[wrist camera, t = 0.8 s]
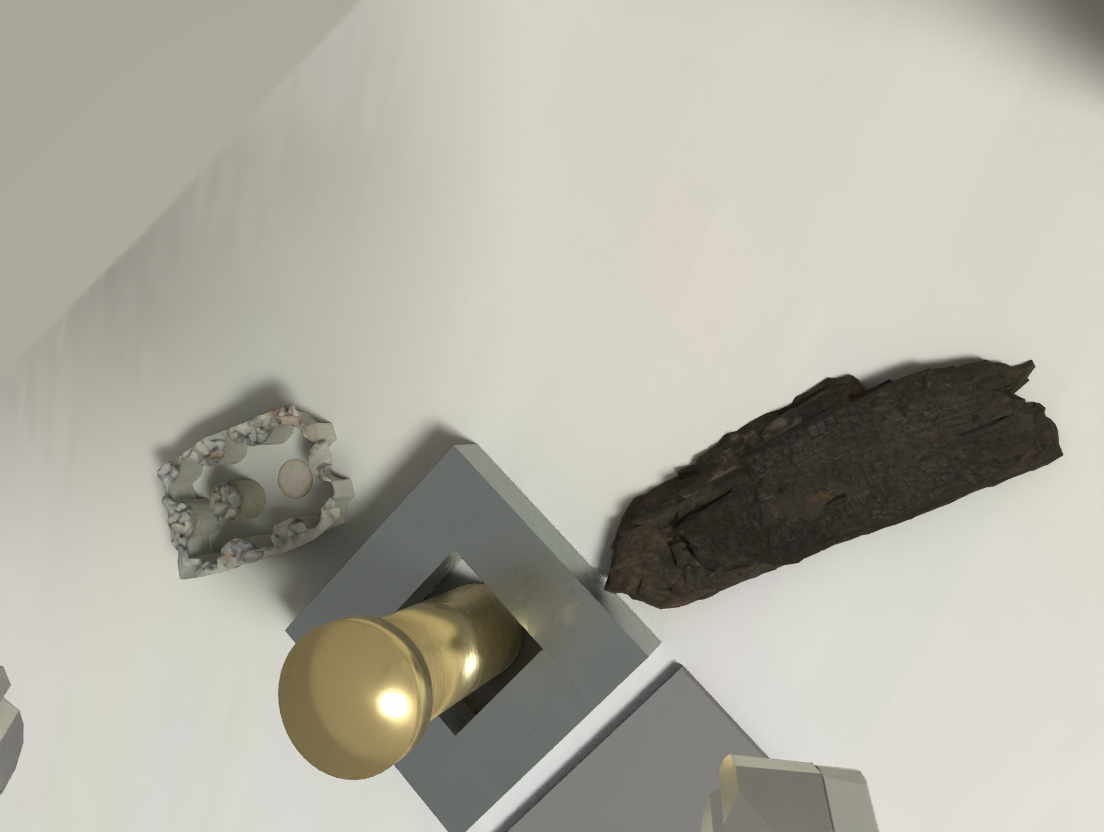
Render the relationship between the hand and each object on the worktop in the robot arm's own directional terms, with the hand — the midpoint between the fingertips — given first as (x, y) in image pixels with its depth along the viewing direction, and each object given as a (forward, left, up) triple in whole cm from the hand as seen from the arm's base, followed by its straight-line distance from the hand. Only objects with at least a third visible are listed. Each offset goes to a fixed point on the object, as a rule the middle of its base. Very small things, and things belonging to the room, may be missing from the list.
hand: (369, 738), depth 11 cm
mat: (+15, +8, -37) cm, 41 cm away
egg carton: (+19, -19, -37) cm, 46 cm away
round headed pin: (+15, -5, -37) cm, 40 cm away
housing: (+15, -5, -37) cm, 40 cm away
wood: (-3, +1, -37) cm, 38 cm away
